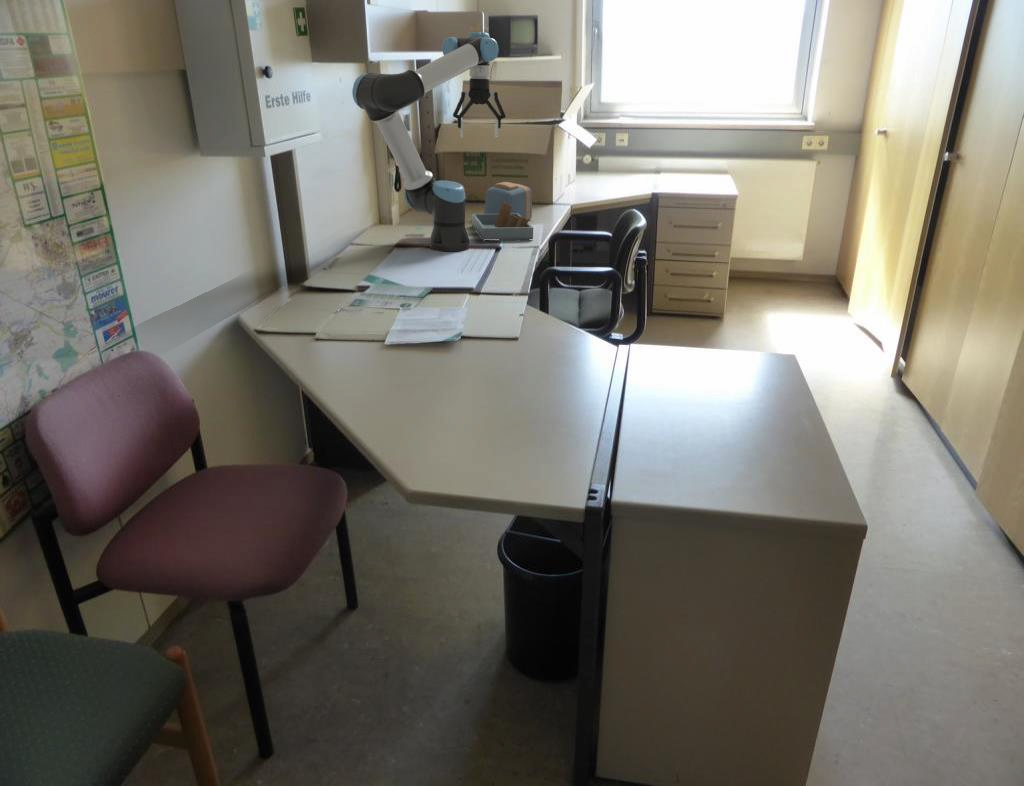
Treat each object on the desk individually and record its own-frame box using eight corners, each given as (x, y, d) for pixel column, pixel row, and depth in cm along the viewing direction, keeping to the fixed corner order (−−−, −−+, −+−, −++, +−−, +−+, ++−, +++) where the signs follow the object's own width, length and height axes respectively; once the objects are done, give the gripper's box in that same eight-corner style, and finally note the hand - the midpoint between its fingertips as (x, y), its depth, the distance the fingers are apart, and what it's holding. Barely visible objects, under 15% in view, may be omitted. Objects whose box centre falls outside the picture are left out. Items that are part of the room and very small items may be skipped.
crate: (482, 241, 284) (482, 228, 282) (472, 225, 309) (472, 214, 307) (532, 240, 288) (533, 227, 286) (518, 225, 313) (518, 213, 310)
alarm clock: (533, 220, 323) (535, 183, 317) (506, 224, 313) (507, 186, 307) (509, 214, 334) (510, 178, 328) (481, 218, 324) (482, 181, 317)
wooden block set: (524, 239, 294) (534, 215, 292) (508, 232, 289) (518, 208, 286) (502, 228, 308) (511, 205, 305) (486, 222, 302) (495, 198, 300)
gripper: (447, 77, 269) (448, 138, 278) (513, 79, 274) (512, 138, 283) (445, 76, 276) (446, 136, 285) (509, 78, 281) (508, 136, 289)
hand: (479, 137), depth 284 cm, fingers open, 13 cm apart
